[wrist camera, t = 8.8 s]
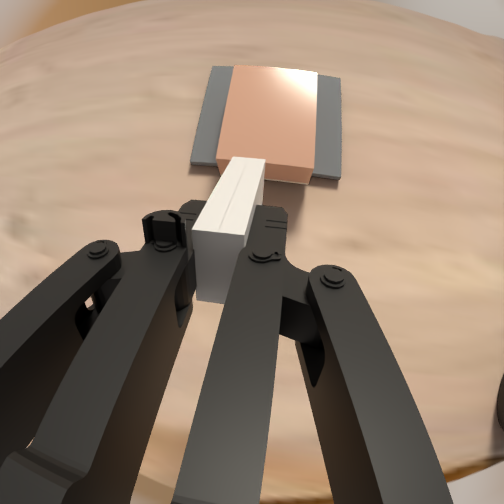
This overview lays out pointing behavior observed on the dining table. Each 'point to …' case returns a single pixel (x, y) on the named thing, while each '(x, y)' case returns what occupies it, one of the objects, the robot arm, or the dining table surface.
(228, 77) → the slate mat
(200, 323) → the dining table surface
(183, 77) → the dining table surface
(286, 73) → the terracotta block
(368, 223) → the dining table surface
